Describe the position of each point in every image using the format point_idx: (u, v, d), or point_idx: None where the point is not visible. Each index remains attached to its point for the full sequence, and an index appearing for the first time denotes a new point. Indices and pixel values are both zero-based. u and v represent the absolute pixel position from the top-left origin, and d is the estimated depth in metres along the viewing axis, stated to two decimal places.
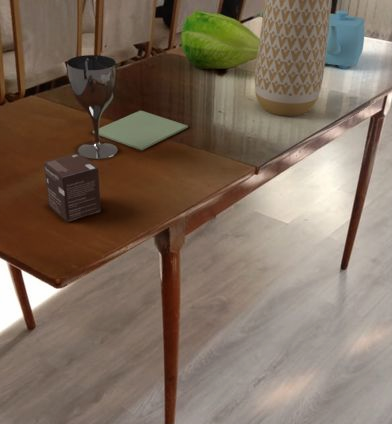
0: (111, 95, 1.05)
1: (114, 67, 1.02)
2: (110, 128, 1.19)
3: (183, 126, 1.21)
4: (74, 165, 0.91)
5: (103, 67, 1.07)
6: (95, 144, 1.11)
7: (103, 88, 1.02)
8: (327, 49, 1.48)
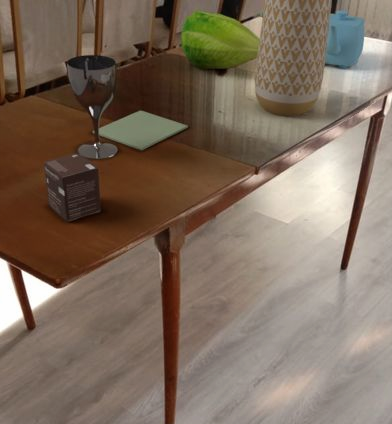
0: (111, 95, 1.05)
1: (114, 67, 1.02)
2: (110, 128, 1.19)
3: (183, 126, 1.21)
4: (74, 165, 0.91)
5: (103, 67, 1.07)
6: (95, 144, 1.11)
7: (103, 88, 1.02)
8: (327, 49, 1.48)
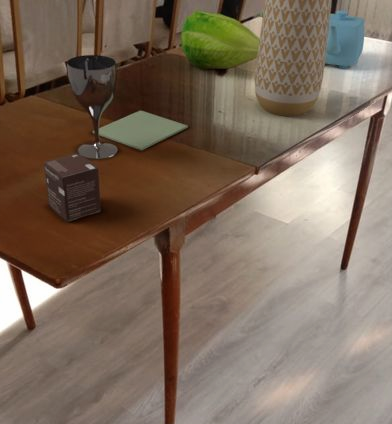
0: (111, 95, 1.05)
1: (114, 67, 1.02)
2: (110, 128, 1.19)
3: (183, 126, 1.21)
4: (74, 165, 0.91)
5: (103, 67, 1.07)
6: (95, 144, 1.11)
7: (103, 88, 1.02)
8: (327, 49, 1.48)
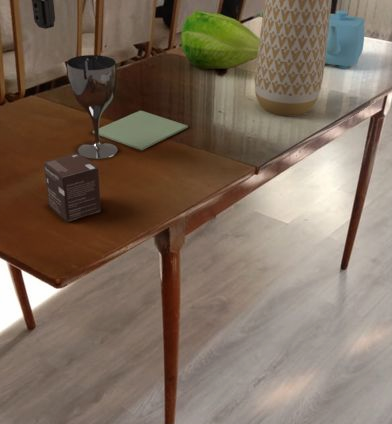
0: (111, 95, 1.05)
1: (114, 67, 1.02)
2: (110, 128, 1.19)
3: (183, 126, 1.21)
4: (74, 165, 0.91)
5: (103, 67, 1.07)
6: (95, 144, 1.11)
7: (103, 88, 1.02)
8: (327, 49, 1.48)
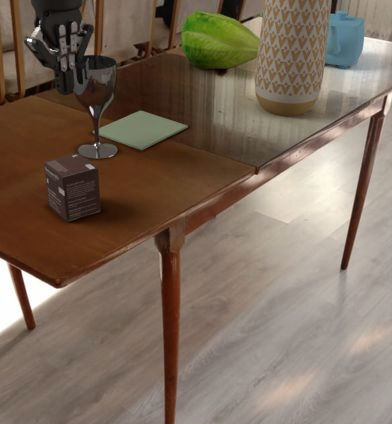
0: (111, 95, 1.05)
1: (115, 67, 1.02)
2: (110, 128, 1.19)
3: (183, 126, 1.21)
4: (74, 165, 0.91)
5: (103, 67, 1.07)
6: (95, 144, 1.11)
7: (103, 87, 1.02)
8: (327, 49, 1.48)
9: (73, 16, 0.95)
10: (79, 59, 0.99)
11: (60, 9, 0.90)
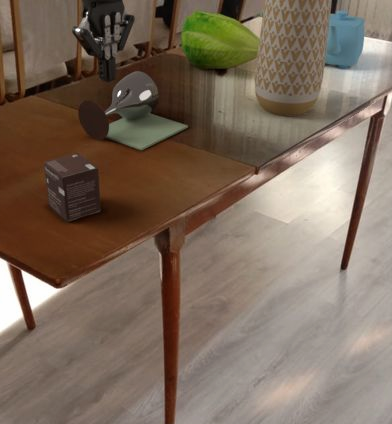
0: (137, 89, 1.17)
1: (154, 84, 1.20)
2: (110, 128, 1.19)
3: (183, 126, 1.21)
4: (74, 165, 0.91)
5: (148, 113, 1.23)
6: None
7: (135, 78, 1.18)
8: (327, 49, 1.48)
9: (117, 7, 1.01)
10: (121, 48, 1.05)
11: (107, 0, 0.96)
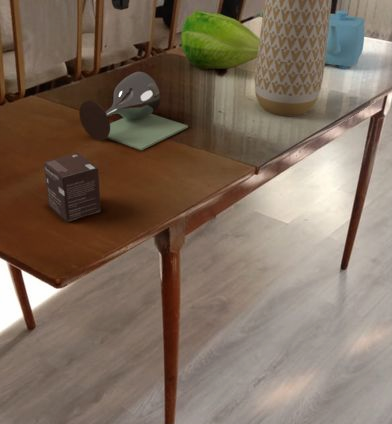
0: (139, 91, 1.17)
1: (156, 86, 1.20)
2: (110, 128, 1.19)
3: (183, 126, 1.21)
4: (74, 165, 0.91)
5: (148, 114, 1.23)
6: None
7: (137, 79, 1.18)
8: (327, 49, 1.48)
9: None
10: None
11: None
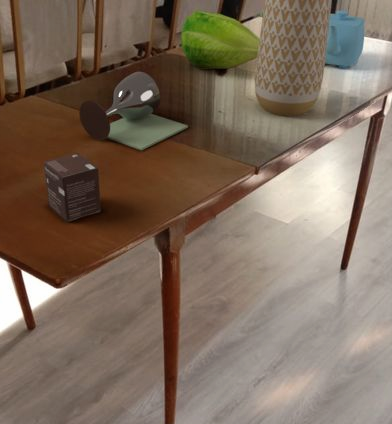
0: (139, 91, 1.17)
1: (156, 86, 1.20)
2: (110, 128, 1.19)
3: (183, 126, 1.21)
4: (74, 165, 0.91)
5: (148, 114, 1.23)
6: None
7: (137, 79, 1.18)
8: (327, 49, 1.48)
9: None
10: None
11: None
